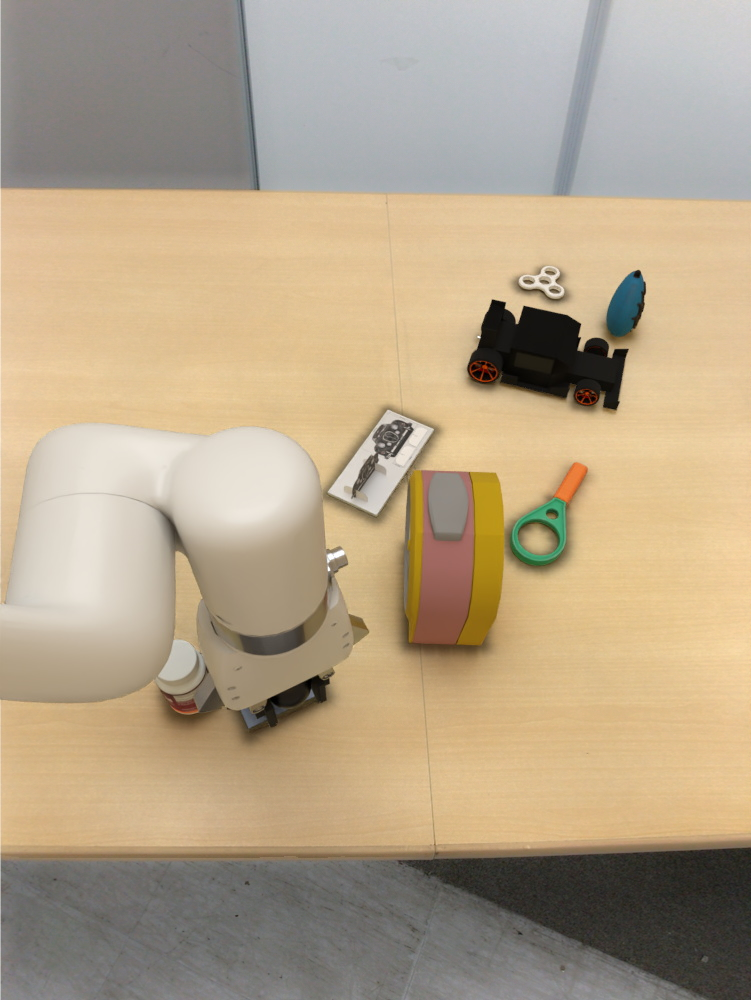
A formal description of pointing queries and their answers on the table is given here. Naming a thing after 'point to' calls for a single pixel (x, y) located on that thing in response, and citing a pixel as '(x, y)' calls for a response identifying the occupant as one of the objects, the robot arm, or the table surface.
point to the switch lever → (293, 695)
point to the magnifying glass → (539, 515)
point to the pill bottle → (182, 677)
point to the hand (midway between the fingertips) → (291, 697)
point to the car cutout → (381, 463)
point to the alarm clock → (453, 556)
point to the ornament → (626, 305)
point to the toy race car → (546, 356)
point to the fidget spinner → (544, 287)
